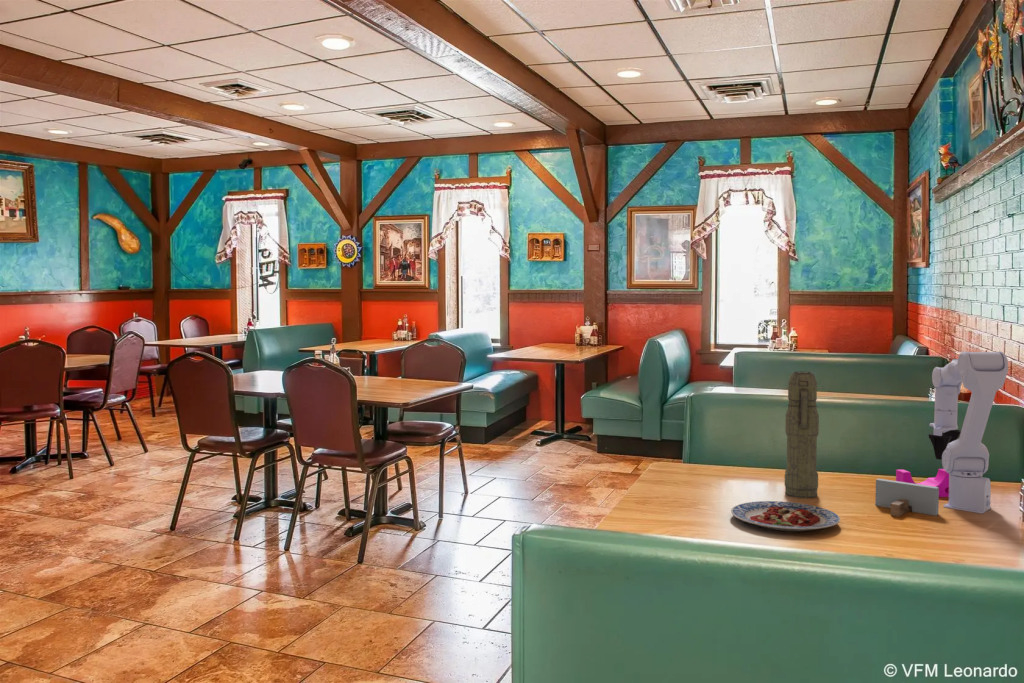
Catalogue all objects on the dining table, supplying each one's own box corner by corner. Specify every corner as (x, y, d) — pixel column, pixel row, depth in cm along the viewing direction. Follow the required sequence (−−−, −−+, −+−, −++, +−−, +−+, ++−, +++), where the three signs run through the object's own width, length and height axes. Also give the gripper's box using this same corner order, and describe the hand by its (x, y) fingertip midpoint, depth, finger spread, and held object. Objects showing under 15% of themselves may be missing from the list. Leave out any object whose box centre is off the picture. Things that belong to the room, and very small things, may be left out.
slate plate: (938, 514, 206) (938, 487, 206) (935, 515, 205) (936, 488, 204) (878, 504, 217) (878, 478, 216) (875, 505, 215) (875, 479, 215)
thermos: (789, 500, 222) (791, 374, 220) (780, 490, 233) (781, 370, 232) (823, 500, 221) (824, 374, 219) (812, 490, 232) (813, 370, 231)
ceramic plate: (755, 504, 218) (755, 493, 218) (853, 520, 202) (853, 508, 202) (713, 524, 198) (713, 512, 198) (819, 544, 182) (819, 531, 182)
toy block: (942, 492, 230) (942, 466, 230) (955, 498, 224) (955, 471, 224) (891, 493, 229) (891, 467, 229) (902, 499, 223) (903, 472, 223)
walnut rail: (913, 503, 217) (913, 492, 217) (921, 504, 216) (921, 493, 216) (890, 515, 205) (890, 503, 205) (898, 516, 204) (898, 505, 204)
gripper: (938, 405, 235) (937, 450, 236) (922, 411, 224) (920, 459, 225) (965, 407, 230) (963, 454, 231) (950, 414, 219) (948, 463, 220)
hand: (944, 457), depth 228 cm, fingers open, 7 cm apart
